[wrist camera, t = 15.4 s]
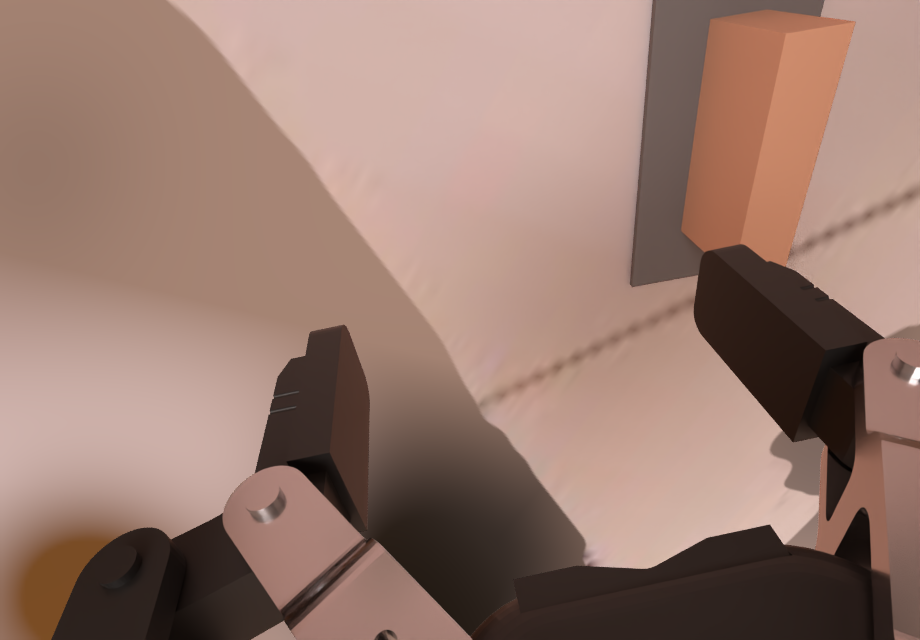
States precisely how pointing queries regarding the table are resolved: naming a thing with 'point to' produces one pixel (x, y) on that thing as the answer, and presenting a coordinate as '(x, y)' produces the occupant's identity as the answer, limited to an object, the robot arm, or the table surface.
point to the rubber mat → (677, 129)
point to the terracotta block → (760, 127)
